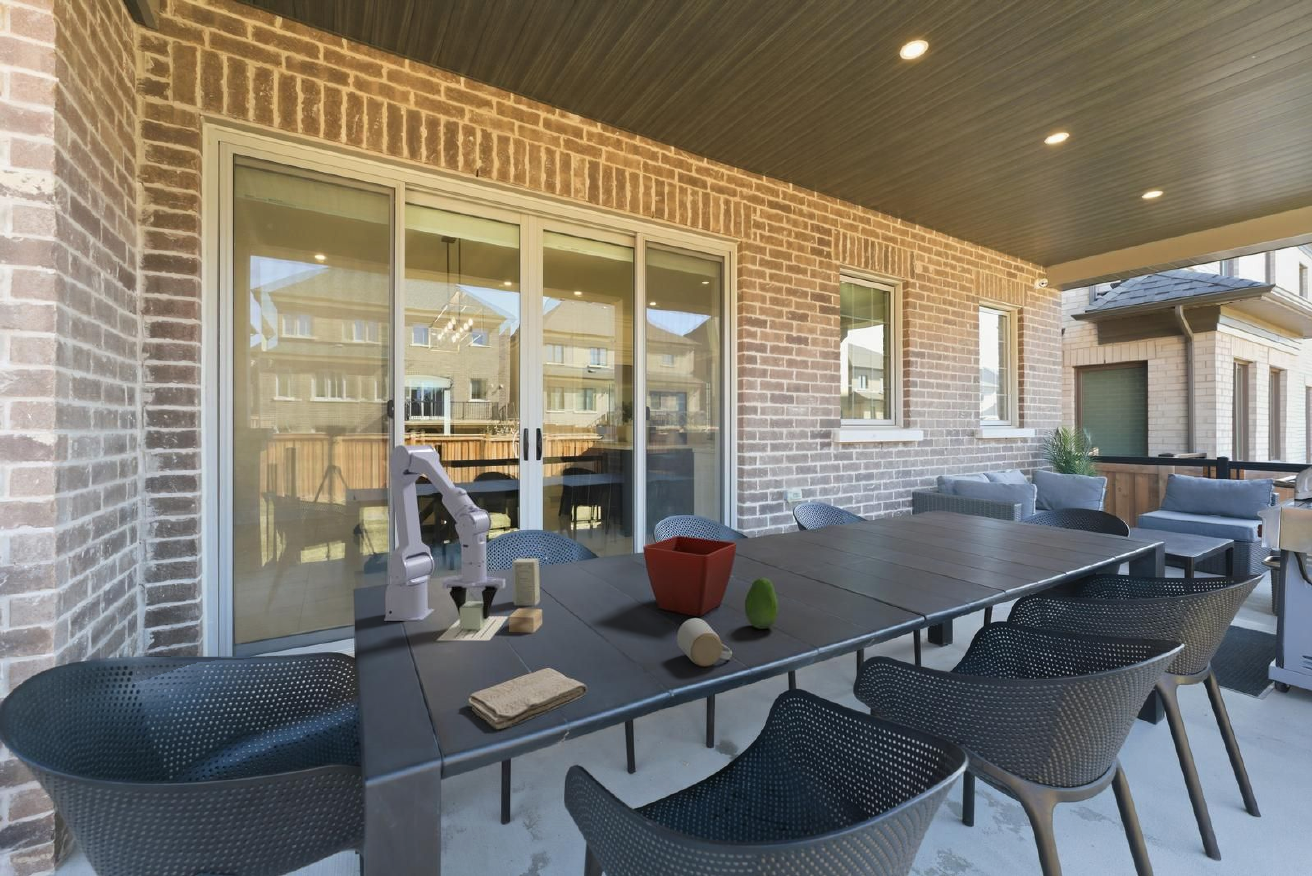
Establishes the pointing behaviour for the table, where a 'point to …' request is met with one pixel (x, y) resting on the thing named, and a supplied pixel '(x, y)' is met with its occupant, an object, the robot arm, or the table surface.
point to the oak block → (525, 620)
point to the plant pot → (689, 573)
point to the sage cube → (472, 615)
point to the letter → (474, 630)
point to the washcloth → (525, 697)
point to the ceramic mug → (701, 643)
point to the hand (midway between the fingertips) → (474, 617)
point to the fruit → (761, 604)
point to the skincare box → (526, 581)
